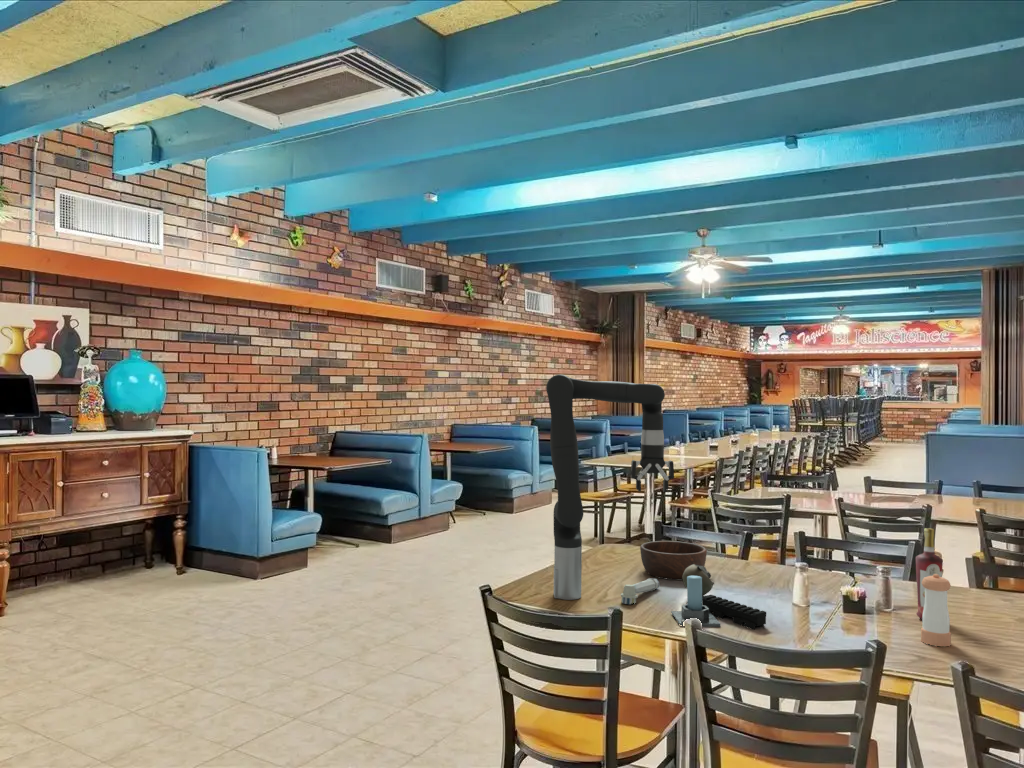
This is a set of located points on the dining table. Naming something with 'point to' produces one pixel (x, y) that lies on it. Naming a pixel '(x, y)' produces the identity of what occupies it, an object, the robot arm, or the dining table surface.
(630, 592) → the grey handheld tool
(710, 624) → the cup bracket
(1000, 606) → the dining table surface
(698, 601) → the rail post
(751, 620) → the rail mount
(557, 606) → the dining table surface
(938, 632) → the salt shaker
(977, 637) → the dining table surface
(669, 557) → the wooden bowl
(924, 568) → the liquor
